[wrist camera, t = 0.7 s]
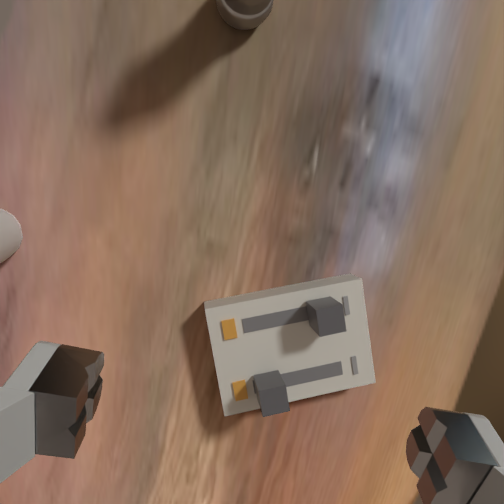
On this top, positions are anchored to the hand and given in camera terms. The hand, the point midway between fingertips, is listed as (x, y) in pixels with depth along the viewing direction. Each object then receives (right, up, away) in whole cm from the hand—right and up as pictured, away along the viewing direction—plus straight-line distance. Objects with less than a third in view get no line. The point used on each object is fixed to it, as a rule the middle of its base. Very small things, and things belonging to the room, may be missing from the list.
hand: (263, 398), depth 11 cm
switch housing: (+4, -8, +47) cm, 48 cm away
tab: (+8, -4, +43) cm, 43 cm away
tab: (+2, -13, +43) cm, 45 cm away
